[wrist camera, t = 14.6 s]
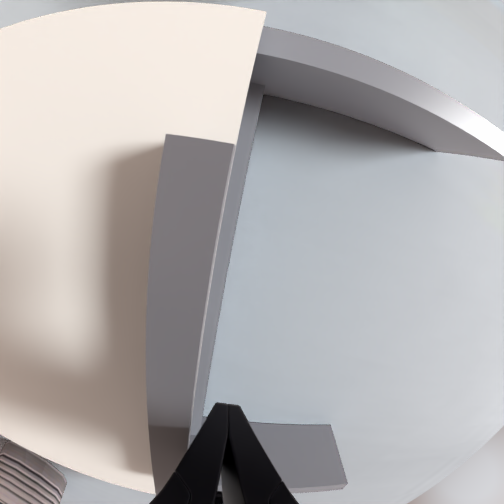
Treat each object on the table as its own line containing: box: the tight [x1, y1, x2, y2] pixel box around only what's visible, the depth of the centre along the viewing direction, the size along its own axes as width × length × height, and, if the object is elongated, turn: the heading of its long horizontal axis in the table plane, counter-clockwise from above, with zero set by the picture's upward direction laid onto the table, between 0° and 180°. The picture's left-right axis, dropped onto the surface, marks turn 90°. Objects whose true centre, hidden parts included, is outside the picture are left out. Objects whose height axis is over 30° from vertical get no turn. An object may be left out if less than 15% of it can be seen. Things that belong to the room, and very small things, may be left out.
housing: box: [189, 26, 504, 493], centre depth 13 cm, size 24×27×6 cm
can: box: [0, 440, 67, 504], centre depth 20 cm, size 11×11×12 cm
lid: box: [0, 2, 266, 496], centre depth 8 cm, size 24×14×3 cm, turn 169°
